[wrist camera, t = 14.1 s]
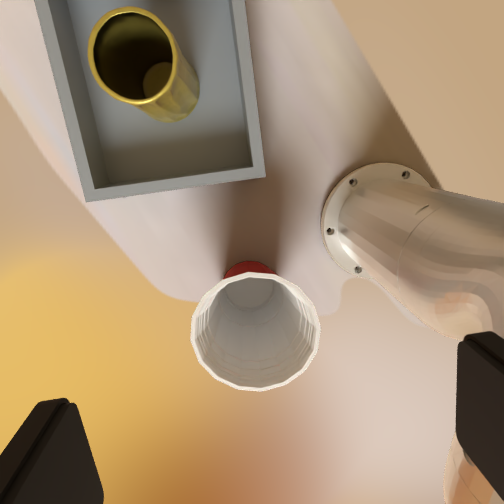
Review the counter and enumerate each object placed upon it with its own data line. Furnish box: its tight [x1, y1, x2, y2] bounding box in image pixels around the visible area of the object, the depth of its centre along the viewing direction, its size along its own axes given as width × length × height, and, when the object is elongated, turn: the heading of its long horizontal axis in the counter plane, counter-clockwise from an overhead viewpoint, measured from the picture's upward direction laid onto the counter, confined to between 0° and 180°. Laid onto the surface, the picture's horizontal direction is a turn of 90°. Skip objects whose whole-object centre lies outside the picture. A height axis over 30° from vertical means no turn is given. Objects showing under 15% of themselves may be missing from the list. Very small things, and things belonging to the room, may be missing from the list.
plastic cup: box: [191, 261, 321, 391], centre depth 37 cm, size 11×11×12 cm
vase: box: [88, 6, 200, 123], centre depth 29 cm, size 6×6×14 cm
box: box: [34, 0, 266, 202], centre depth 34 cm, size 16×18×6 cm
